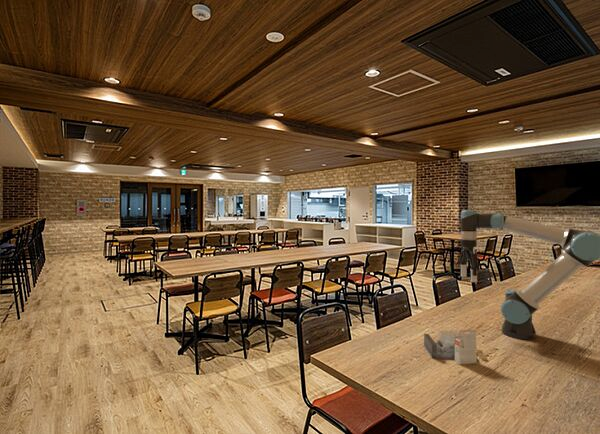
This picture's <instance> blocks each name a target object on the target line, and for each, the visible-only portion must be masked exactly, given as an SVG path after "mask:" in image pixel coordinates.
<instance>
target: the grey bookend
mask: <svg viewBox="0 0 600 434" xmlns="http://www.w3.org/2000/svg"><path fill="white" fill-rule="evenodd" d="M423 347H424V348H425V349H426V352H427V353H428V354H429V356H430V357H431V358H432V359H442V360H443V359H449V360H455V351H443V350H442V349H441V348H440V346H439V344H438V341H437V342H435V340H434V339H433V338H432V337H431V335H430V334H429V333H423Z"/></svg>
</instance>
